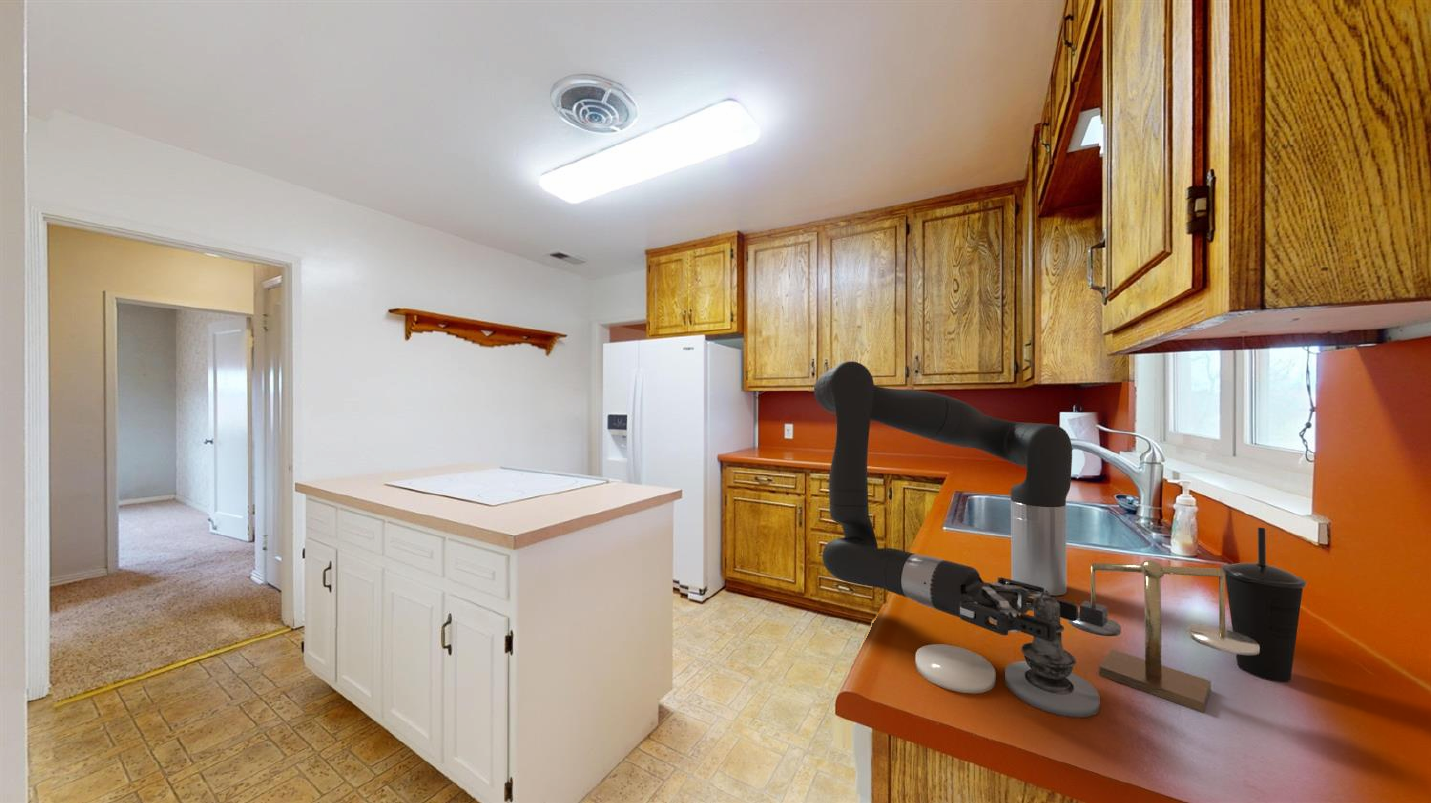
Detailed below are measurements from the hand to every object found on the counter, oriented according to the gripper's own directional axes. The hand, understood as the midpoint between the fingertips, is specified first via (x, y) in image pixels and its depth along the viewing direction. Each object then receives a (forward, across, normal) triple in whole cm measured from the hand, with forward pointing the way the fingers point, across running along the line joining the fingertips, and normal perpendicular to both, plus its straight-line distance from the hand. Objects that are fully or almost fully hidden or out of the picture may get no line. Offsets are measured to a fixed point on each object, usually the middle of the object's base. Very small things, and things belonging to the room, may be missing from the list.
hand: (1066, 622), depth 59 cm
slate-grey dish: (-2, 0, +10) cm, 10 cm away
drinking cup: (+15, +28, +10) cm, 33 cm away
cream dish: (-12, -5, +10) cm, 16 cm away
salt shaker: (-2, 0, +9) cm, 9 cm away
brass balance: (+6, +13, +10) cm, 17 cm away
